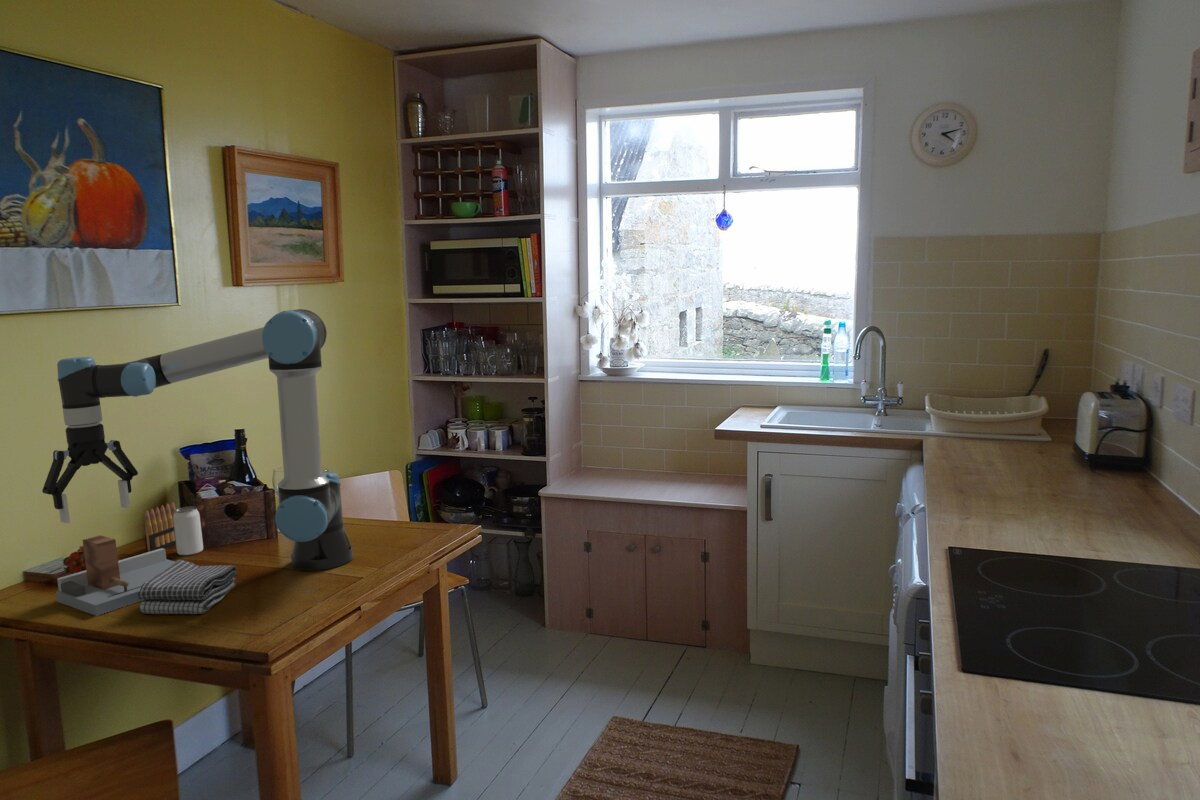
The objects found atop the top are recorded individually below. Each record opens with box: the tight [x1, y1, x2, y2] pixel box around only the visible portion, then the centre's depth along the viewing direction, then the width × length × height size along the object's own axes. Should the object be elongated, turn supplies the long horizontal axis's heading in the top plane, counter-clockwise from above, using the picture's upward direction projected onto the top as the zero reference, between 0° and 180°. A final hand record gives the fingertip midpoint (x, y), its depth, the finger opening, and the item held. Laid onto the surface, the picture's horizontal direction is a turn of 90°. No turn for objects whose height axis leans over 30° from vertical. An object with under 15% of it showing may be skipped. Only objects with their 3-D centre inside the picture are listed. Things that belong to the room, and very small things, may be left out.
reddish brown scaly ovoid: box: [62, 545, 86, 574], centre depth 219 cm, size 8×8×12 cm
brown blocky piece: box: [82, 535, 129, 591], centre depth 202 cm, size 14×4×11 cm, turn 56°
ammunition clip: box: [144, 501, 177, 553], centre depth 240 cm, size 11×2×12 cm, turn 160°
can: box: [173, 506, 204, 557], centre depth 235 cm, size 6×6×12 cm
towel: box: [138, 559, 239, 615], centre depth 198 cm, size 15×18×8 cm
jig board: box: [55, 548, 176, 617], centre depth 207 cm, size 18×26×6 cm
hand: (96, 514), depth 202 cm, fingers open, 13 cm apart
